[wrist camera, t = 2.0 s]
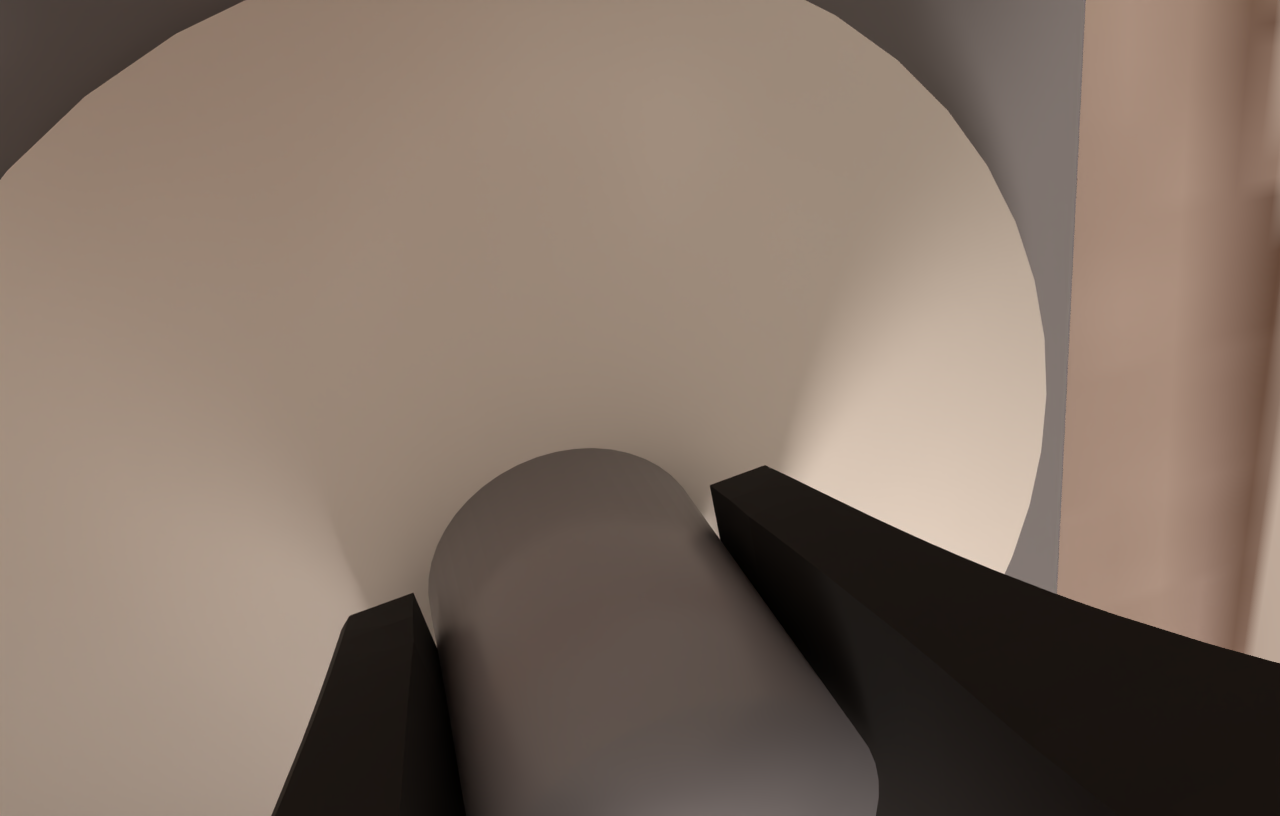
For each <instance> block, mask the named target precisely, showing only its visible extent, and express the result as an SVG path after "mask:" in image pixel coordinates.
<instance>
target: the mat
mask: <svg viewBox="0 0 1280 816" xmlns="http://www.w3.org/2000/svg"><path fill="white" fill-rule="evenodd" d="M243 1H245V0H0V180H1V178H2V177H3V176H4V174H5V173H6V172H7V170H8V169H10V168H11V167H12V166H13V165H14V164H15V163H16V162H17V161H18V160H19V159H20V158H21V157H22V156H23V155H24V154H25V153H26V152H27V151H28V150H29V149H30V148H32V147H33V146H34V145H35V144H36V143H37V142H38V141H39V140H40V139H41V138H42V137H43V136H44V135H45V134H46V133H47V132H48V131H49V130H50V129H51V128H52V127H53V126H55V125H56V124H57V123H58V122H59V121H60V120H61V119H62V118H63V117H64V116H65V115H66V114H67V113H68V112H69V111H70V110H71V109H72V108H73V107H74V106H75V105H77V104H78V103H79V102H80V101H81V100H82V99H83V98H84V97H85V96H86V95H88V94H89V93H91V92H92V91H94V90H95V89H97V88H98V87H99V86H101V85H102V84H104V83H105V82H107V81H108V80H110V79H111V78H112V77H114V76H115V75H117V74H118V73H120V72H121V71H123V70H124V69H126V68H127V67H128V66H130V65H131V64H133V63H134V62H136V61H137V60H139V59H140V58H141V57H143V56H144V55H146V54H147V53H149V52H150V51H152V50H153V49H154V48H156V47H157V46H159V45H160V44H162V43H163V42H165V41H166V40H168V39H169V38H170V37H172V36H173V35H175V34H176V33H179V32H181V31H183V30H185V29H187V28H189V27H191V26H193V25H195V24H197V23H199V22H201V21H203V20H205V19H207V18H210V17H212V16H214V15H216V14H218V13H220V12H222V11H224V10H226V9H228V8H230V7H232V6H234V5H236V4H239V3H241V2H243ZM806 1H808V2H810V3H812V4H814V5H816V6H818V7H820V8H822V9H824V10H826V11H828V12H830V13H832V14H834V15H836V16H837V17H839V18H840V19H841V20H843V21H844V22H845V23H847V24H848V25H850V26H851V27H852V28H854V29H855V30H857V31H858V32H859V33H861V34H862V35H863V36H865V37H866V38H868V39H869V40H870V41H872V42H873V43H875V44H876V45H877V46H879V47H880V48H881V49H883V50H884V51H886V52H887V53H888V54H890V55H891V56H892V57H894V58H895V59H897V60H898V61H899V62H900V63H901V64H902V65H903V66H904V67H905V68H906V69H907V70H908V71H909V72H910V73H911V74H912V75H913V76H914V77H915V78H916V79H917V80H918V81H919V82H920V83H921V84H922V85H923V86H924V87H925V88H926V89H927V90H928V91H929V92H930V93H931V94H932V95H933V96H934V97H935V98H936V99H937V100H938V101H939V102H940V103H941V104H942V105H943V106H944V107H945V108H946V109H947V110H948V112H949V113H950V114H951V116H952V117H953V118H954V120H955V121H956V123H957V124H958V125H959V127H960V128H961V130H962V131H963V132H964V134H965V135H966V137H967V138H968V139H969V141H970V142H971V144H972V145H973V146H974V148H975V149H976V151H977V152H978V153H979V155H980V156H981V157H982V159H983V160H984V162H985V163H986V164H987V166H988V168H989V170H990V172H991V174H992V176H993V178H994V180H995V182H996V184H997V186H998V188H999V190H1000V192H1001V194H1002V196H1003V198H1004V200H1005V202H1006V204H1007V206H1008V208H1009V210H1010V212H1011V214H1012V216H1013V218H1014V220H1015V222H1016V225H1017V228H1018V231H1019V234H1020V237H1021V240H1022V243H1023V246H1024V249H1025V252H1026V255H1027V258H1028V262H1029V265H1030V268H1031V271H1032V274H1033V277H1034V280H1035V286H1036V292H1037V297H1038V303H1039V309H1040V315H1041V321H1042V326H1043V332H1044V338H1045V368H1046V405H1045V416H1044V427H1043V438H1042V448H1041V454H1040V459H1039V464H1038V468H1037V473H1036V478H1035V482H1034V487H1033V492H1032V496H1031V501H1030V505H1029V508H1028V511H1027V514H1026V517H1025V520H1024V523H1023V526H1022V529H1021V532H1020V535H1019V538H1018V541H1017V544H1016V547H1015V550H1014V553H1013V556H1012V559H1011V561H1010V563H1009V565H1008V567H1007V570H1006V572H1005V574H1006V575H1008V576H1011V577H1013V578H1016V579H1019V580H1021V581H1024V582H1026V583H1029V584H1032V585H1034V586H1037V587H1039V588H1042V589H1045V590H1047V591H1050V592H1052V593H1055V594H1057V579H1058V559H1059V538H1060V518H1061V497H1062V476H1063V456H1064V435H1065V415H1066V394H1067V373H1068V353H1069V332H1070V311H1071V291H1072V270H1073V250H1074V229H1075V208H1076V188H1077V167H1078V146H1079V126H1080V105H1081V85H1082V64H1083V43H1084V23H1085V2H1086V0H806Z"/></svg>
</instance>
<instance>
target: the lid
mask: <svg viewBox="0 0 1280 816" xmlns="http://www.w3.org/2000/svg"><path fill="white" fill-rule="evenodd" d="M1045 405H1046V368H1045V338H1044V332H1043V326H1042V321H1041V315H1040V309H1039V303H1038V297H1037V292H1036V286H1035V280H1034V277H1033V274H1032V271H1031V268H1030V265H1029V262H1028V258H1027V255H1026V252H1025V249H1024V246H1023V243H1022V240H1021V237H1020V234H1019V231H1018V228H1017V225H1016V222H1015V220H1014V218H1013V216H1012V214H1011V212H1010V210H1009V208H1008V206H1007V204H1006V202H1005V200H1004V198H1003V196H1002V194H1001V192H1000V190H999V188H998V186H997V184H996V182H995V180H994V178H993V176H992V174H991V172H990V170H989V168H988V166H987V164H986V163H985V162H984V160H983V159H982V157H981V156H980V155H979V153H978V152H977V151H976V149H975V148H974V146H973V145H972V144H971V142H970V141H969V139H968V138H967V137H966V135H965V134H964V132H963V131H962V130H961V128H960V127H959V125H958V124H957V123H956V121H955V120H954V118H953V117H952V116H951V114H950V113H949V112H948V110H947V109H946V108H945V107H944V106H943V105H942V104H941V103H940V102H939V101H938V100H937V99H936V98H935V97H934V96H933V95H932V94H931V93H930V92H929V91H928V90H927V89H926V88H925V87H924V86H923V85H922V84H921V83H920V82H919V81H918V80H917V79H916V78H915V77H914V76H913V75H912V74H911V73H910V72H909V71H908V70H907V69H906V68H905V67H904V66H903V65H902V64H901V63H900V62H899V61H898V60H897V59H895V58H894V57H892V56H891V55H890V54H888V53H887V52H886V51H884V50H883V49H881V48H880V47H879V46H877V45H876V44H875V43H873V42H872V41H870V40H869V39H868V38H866V37H865V36H863V35H862V34H861V33H859V32H858V31H857V30H855V29H854V28H852V27H851V26H850V25H848V24H847V23H845V22H844V21H843V20H841V19H840V18H839V17H837V16H836V15H834V14H832V13H830V12H828V11H826V10H824V9H822V8H820V7H818V6H816V5H814V4H812V3H810V2H808V1H806V0H245V1H243V2H241V3H239V4H236V5H234V6H232V7H230V8H228V9H226V10H224V11H222V12H220V13H218V14H216V15H214V16H212V17H210V18H207V19H205V20H203V21H201V22H199V23H197V24H195V25H193V26H191V27H189V28H187V29H185V30H183V31H181V32H179V33H176V34H175V35H173V36H172V37H170V38H169V39H168V40H166V41H165V42H163V43H162V44H160V45H159V46H157V47H156V48H154V49H153V50H152V51H150V52H149V53H147V54H146V55H144V56H143V57H141V58H140V59H139V60H137V61H136V62H134V63H133V64H131V65H130V66H128V67H127V68H126V69H124V70H123V71H121V72H120V73H118V74H117V75H115V76H114V77H112V78H111V79H110V80H108V81H107V82H105V83H104V84H102V85H101V86H99V87H98V88H97V89H95V90H94V91H92V92H91V93H89V94H88V95H86V96H85V97H84V98H83V99H82V100H81V101H80V102H79V103H78V104H77V105H75V106H74V107H73V108H72V109H71V110H70V111H69V112H68V113H67V114H66V115H65V116H64V117H63V118H62V119H61V120H60V121H59V122H58V123H57V124H56V125H55V126H53V127H52V128H51V129H50V130H49V131H48V132H47V133H46V134H45V135H44V136H43V137H42V138H41V139H40V140H39V141H38V142H37V143H36V144H35V145H34V146H33V147H32V148H30V149H29V150H28V151H27V152H26V153H25V154H24V155H23V156H22V157H21V158H20V159H19V160H18V161H17V162H16V163H15V164H14V165H13V166H12V167H11V168H10V169H8V170H7V172H6V173H5V174H4V176H3V177H2V178H1V180H0V816H271V815H272V813H273V810H274V808H275V805H276V803H277V800H278V798H279V795H280V793H281V791H282V788H283V786H284V783H285V781H286V778H287V776H288V773H289V771H290V769H291V766H292V764H293V761H294V759H295V756H296V754H297V751H298V749H299V747H300V744H301V742H302V739H303V736H304V734H305V731H306V728H307V726H308V723H309V720H310V718H311V715H312V712H313V710H314V707H315V704H316V702H317V699H318V696H319V693H320V691H321V688H322V685H323V682H324V679H325V677H326V674H327V671H328V668H329V665H330V662H331V659H332V656H333V653H334V650H335V647H336V644H337V641H338V638H339V635H340V632H341V629H342V628H343V626H344V624H345V622H346V621H347V619H348V617H349V616H350V615H353V614H355V613H358V612H361V611H364V610H367V609H369V608H372V607H375V606H378V605H380V604H383V603H386V602H389V601H391V600H394V599H397V598H400V597H402V596H405V595H408V594H411V593H414V595H415V598H416V600H417V602H418V605H419V607H420V609H421V612H422V614H423V616H424V619H425V621H426V623H427V626H428V628H429V631H430V633H431V635H432V638H433V640H434V642H435V645H436V647H437V649H438V655H439V661H440V667H441V673H442V678H443V684H444V690H445V696H446V702H447V707H448V713H449V719H450V725H451V731H452V737H453V743H454V749H455V755H456V761H457V766H458V772H459V778H460V784H461V790H462V795H463V801H464V807H465V813H466V816H876V812H877V805H878V799H879V779H878V774H877V769H876V764H875V761H874V759H873V756H872V754H871V752H870V749H869V747H868V746H867V744H866V743H865V742H864V740H863V739H862V737H861V736H860V734H859V733H858V732H857V730H856V729H855V727H854V726H853V725H852V723H851V722H850V720H849V719H848V718H847V716H846V715H845V713H844V712H843V711H842V709H841V708H840V706H839V705H838V704H837V702H836V701H835V699H834V698H833V697H832V695H831V694H830V692H829V691H828V690H827V688H826V687H825V685H824V684H823V683H822V681H821V680H820V678H819V677H818V676H817V674H816V673H815V671H814V670H813V669H812V667H811V666H810V665H809V663H808V662H807V660H806V659H805V658H804V656H803V655H802V653H801V652H800V651H799V649H798V648H797V646H796V645H795V644H794V642H793V641H792V639H791V638H790V637H789V635H788V634H787V632H786V631H785V630H784V628H783V627H782V625H781V624H780V623H779V621H778V620H777V618H776V617H775V616H774V614H773V613H772V611H771V610H770V609H769V607H768V606H767V604H766V603H765V602H764V600H763V599H762V597H761V596H760V595H759V593H758V592H757V590H756V589H755V588H754V586H753V585H752V583H751V582H750V581H749V579H748V578H747V577H746V575H745V574H744V572H743V571H742V570H741V568H740V567H739V565H738V564H737V563H736V561H735V560H734V558H733V557H732V556H731V554H730V553H729V551H728V550H727V549H726V547H725V546H724V544H723V543H722V542H721V540H720V537H719V532H718V526H717V521H716V516H715V511H714V505H713V500H712V495H711V490H710V485H711V484H714V483H717V482H720V481H722V480H725V479H728V478H731V477H733V476H736V475H739V474H742V473H744V472H747V471H750V470H753V469H755V468H758V467H761V466H764V465H766V466H768V467H770V468H772V469H774V470H777V471H779V472H781V473H783V474H785V475H787V476H789V477H791V478H794V479H796V480H798V481H800V482H802V483H804V484H806V485H808V486H810V487H812V488H814V489H816V490H818V491H820V492H822V493H824V494H826V495H828V496H830V497H832V498H834V499H836V500H839V501H841V502H843V503H845V504H847V505H849V506H851V507H853V508H855V509H857V510H859V511H861V512H864V513H866V514H868V515H870V516H872V517H874V518H876V519H878V520H881V521H883V522H885V523H887V524H889V525H891V526H893V527H896V528H898V529H900V530H902V531H904V532H907V533H909V534H911V535H913V536H915V537H918V538H920V539H922V540H924V541H927V542H929V543H931V544H933V545H936V546H938V547H940V548H943V549H945V550H947V551H949V552H952V553H954V554H956V555H959V556H961V557H964V558H966V559H968V560H971V561H973V562H976V563H978V564H980V565H983V566H985V567H988V568H990V569H993V570H995V571H998V572H1000V573H1003V574H1005V572H1006V570H1007V567H1008V565H1009V563H1010V561H1011V559H1012V556H1013V553H1014V550H1015V547H1016V544H1017V541H1018V538H1019V535H1020V532H1021V529H1022V526H1023V523H1024V520H1025V517H1026V514H1027V511H1028V508H1029V505H1030V501H1031V496H1032V492H1033V487H1034V482H1035V478H1036V473H1037V468H1038V464H1039V459H1040V454H1041V448H1042V438H1043V427H1044V416H1045Z"/></svg>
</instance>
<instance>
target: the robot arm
mask: <svg viewBox="0 0 1280 816" xmlns="http://www.w3.org/2000/svg"><path fill="white" fill-rule="evenodd" d="M710 490H711V495H712V500H713V505H714V511H715V516H716V521H717V526H718V532H719V537H720V540H721V542H722V543H723V544H724V546H725V547H726V549H727V550H728V551H729V553H730V554H731V556H732V557H733V558H734V560H735V561H736V563H737V564H738V565H739V567H740V568H741V570H742V571H743V572H744V574H745V575H746V577H747V578H748V579H749V581H750V582H751V583H752V585H753V586H754V588H755V589H756V590H757V592H758V593H759V595H760V596H761V597H762V599H763V600H764V602H765V603H766V604H767V606H768V607H769V609H770V610H771V611H772V613H773V614H774V616H775V617H776V618H777V620H778V621H779V623H780V624H781V625H782V627H783V628H784V630H785V631H786V632H787V634H788V635H789V637H790V638H791V639H792V641H793V642H794V644H795V645H796V646H797V648H798V649H799V651H800V652H801V653H802V655H803V656H804V658H805V659H806V660H807V662H808V663H809V665H810V666H811V667H812V669H813V670H814V671H815V673H816V674H817V676H818V677H819V678H820V680H821V681H822V683H823V684H824V685H825V687H826V688H827V690H828V691H829V692H830V694H831V695H832V697H833V698H834V699H835V701H836V702H837V704H838V705H839V706H840V708H841V709H842V711H843V712H844V713H845V715H846V716H847V718H848V719H849V720H850V722H851V723H852V725H853V726H854V727H855V729H856V730H857V732H858V733H859V734H860V736H861V737H862V739H863V740H864V742H865V743H866V744H867V746H868V747H869V749H870V752H871V754H872V756H873V759H874V761H875V764H876V769H877V774H878V779H879V799H878V805H877V812H876V816H1280V663H1276V662H1272V661H1268V660H1265V659H1262V658H1258V657H1254V656H1251V655H1247V654H1243V653H1240V652H1236V651H1232V650H1229V649H1225V648H1222V647H1218V646H1215V645H1211V644H1208V643H1204V642H1201V641H1198V640H1195V639H1191V638H1188V637H1185V636H1182V635H1179V634H1175V633H1172V632H1169V631H1166V630H1163V629H1159V628H1156V627H1153V626H1150V625H1147V624H1143V623H1140V622H1137V621H1134V620H1131V619H1127V618H1124V617H1121V616H1118V615H1115V614H1111V613H1109V612H1106V611H1103V610H1100V609H1097V608H1094V607H1091V606H1088V605H1085V604H1083V603H1080V602H1077V601H1074V600H1071V599H1068V598H1066V597H1063V596H1060V595H1058V594H1055V593H1052V592H1050V591H1047V590H1045V589H1042V588H1039V587H1037V586H1034V585H1032V584H1029V583H1026V582H1024V581H1021V580H1019V579H1016V578H1013V577H1011V576H1008V575H1006V574H1003V573H1000V572H998V571H995V570H993V569H990V568H988V567H985V566H983V565H980V564H978V563H976V562H973V561H971V560H968V559H966V558H964V557H961V556H959V555H956V554H954V553H952V552H949V551H947V550H945V549H943V548H940V547H938V546H936V545H933V544H931V543H929V542H927V541H924V540H922V539H920V538H918V537H915V536H913V535H911V534H909V533H907V532H904V531H902V530H900V529H898V528H896V527H893V526H891V525H889V524H887V523H885V522H883V521H881V520H878V519H876V518H874V517H872V516H870V515H868V514H866V513H864V512H861V511H859V510H857V509H855V508H853V507H851V506H849V505H847V504H845V503H843V502H841V501H839V500H836V499H834V498H832V497H830V496H828V495H826V494H824V493H822V492H820V491H818V490H816V489H814V488H812V487H810V486H808V485H806V484H804V483H802V482H800V481H798V480H796V479H794V478H791V477H789V476H787V475H785V474H783V473H781V472H779V471H777V470H774V469H772V468H770V467H768V466H766V465H764V466H761V467H758V468H755V469H753V470H750V471H747V472H744V473H742V474H739V475H736V476H733V477H731V478H728V479H725V480H722V481H720V482H717V483H714V484H711V485H710ZM271 816H466V813H465V807H464V801H463V795H462V790H461V784H460V778H459V772H458V766H457V761H456V755H455V749H454V743H453V737H452V731H451V725H450V719H449V713H448V707H447V702H446V696H445V690H444V684H443V678H442V673H441V667H440V661H439V655H438V649H437V647H436V645H435V642H434V640H433V638H432V635H431V633H430V631H429V628H428V626H427V623H426V621H425V619H424V616H423V614H422V612H421V609H420V607H419V605H418V602H417V600H416V598H415V595H414V593H411V594H408V595H405V596H402V597H400V598H397V599H394V600H391V601H389V602H386V603H383V604H380V605H378V606H375V607H372V608H369V609H367V610H364V611H361V612H358V613H355V614H353V615H350V616H349V617H348V619H347V621H346V622H345V624H344V626H343V628H342V629H341V632H340V635H339V638H338V641H337V644H336V647H335V650H334V653H333V656H332V659H331V662H330V665H329V668H328V671H327V674H326V677H325V679H324V682H323V685H322V688H321V691H320V693H319V696H318V699H317V702H316V704H315V707H314V710H313V712H312V715H311V718H310V720H309V723H308V726H307V728H306V731H305V734H304V736H303V739H302V742H301V744H300V747H299V749H298V751H297V754H296V756H295V759H294V761H293V764H292V766H291V769H290V771H289V773H288V776H287V778H286V781H285V783H284V786H283V788H282V791H281V793H280V795H279V798H278V800H277V803H276V805H275V808H274V810H273V813H272V815H271Z"/></svg>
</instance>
